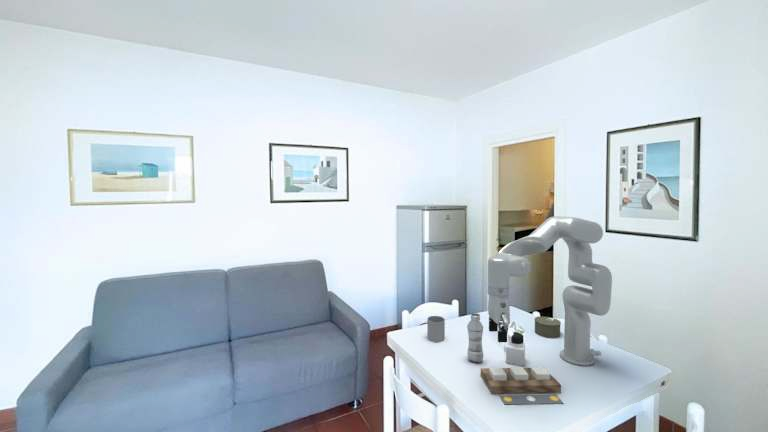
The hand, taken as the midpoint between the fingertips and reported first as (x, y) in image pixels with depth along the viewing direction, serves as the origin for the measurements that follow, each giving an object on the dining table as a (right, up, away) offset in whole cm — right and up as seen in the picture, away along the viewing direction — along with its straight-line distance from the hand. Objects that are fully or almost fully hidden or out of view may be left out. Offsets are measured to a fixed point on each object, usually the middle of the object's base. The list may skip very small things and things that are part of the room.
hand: (497, 336), depth 119 cm
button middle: (+8, -16, +1) cm, 18 cm away
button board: (+8, -18, +1) cm, 20 cm away
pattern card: (+8, -19, -9) cm, 22 cm away
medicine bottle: (+14, -18, +18) cm, 29 cm away
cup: (-16, -17, +41) cm, 47 cm away
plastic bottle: (-3, -18, +19) cm, 26 cm away
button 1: (0, -16, +1) cm, 16 cm away
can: (+42, -16, +45) cm, 64 cm away
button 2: (+16, -16, +1) cm, 23 cm away
